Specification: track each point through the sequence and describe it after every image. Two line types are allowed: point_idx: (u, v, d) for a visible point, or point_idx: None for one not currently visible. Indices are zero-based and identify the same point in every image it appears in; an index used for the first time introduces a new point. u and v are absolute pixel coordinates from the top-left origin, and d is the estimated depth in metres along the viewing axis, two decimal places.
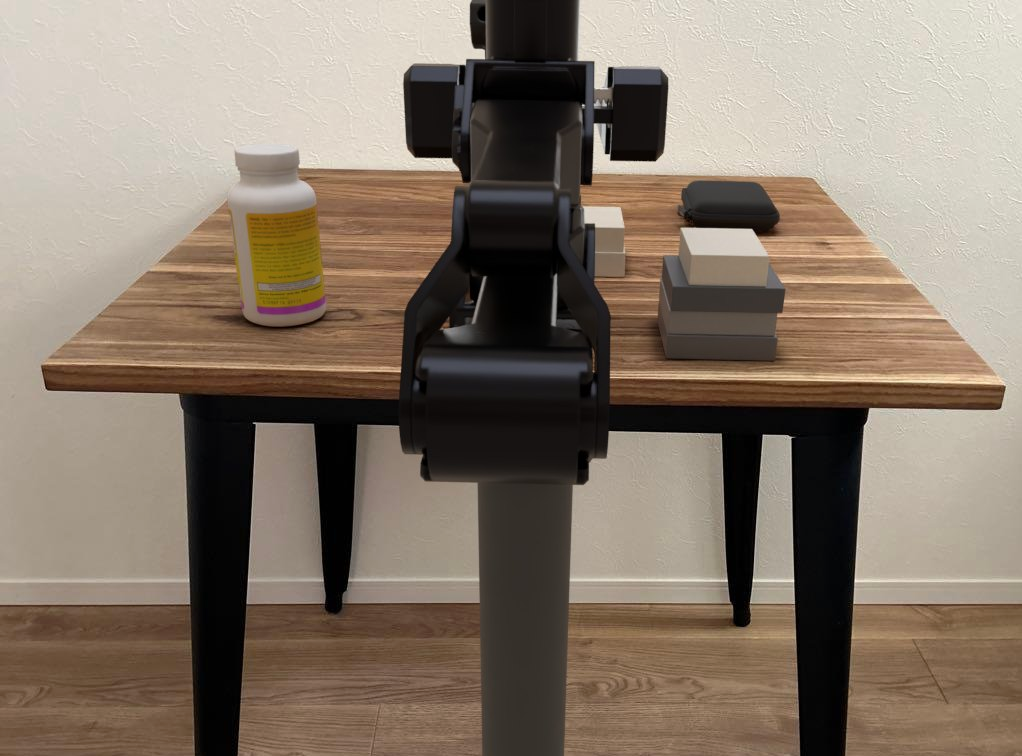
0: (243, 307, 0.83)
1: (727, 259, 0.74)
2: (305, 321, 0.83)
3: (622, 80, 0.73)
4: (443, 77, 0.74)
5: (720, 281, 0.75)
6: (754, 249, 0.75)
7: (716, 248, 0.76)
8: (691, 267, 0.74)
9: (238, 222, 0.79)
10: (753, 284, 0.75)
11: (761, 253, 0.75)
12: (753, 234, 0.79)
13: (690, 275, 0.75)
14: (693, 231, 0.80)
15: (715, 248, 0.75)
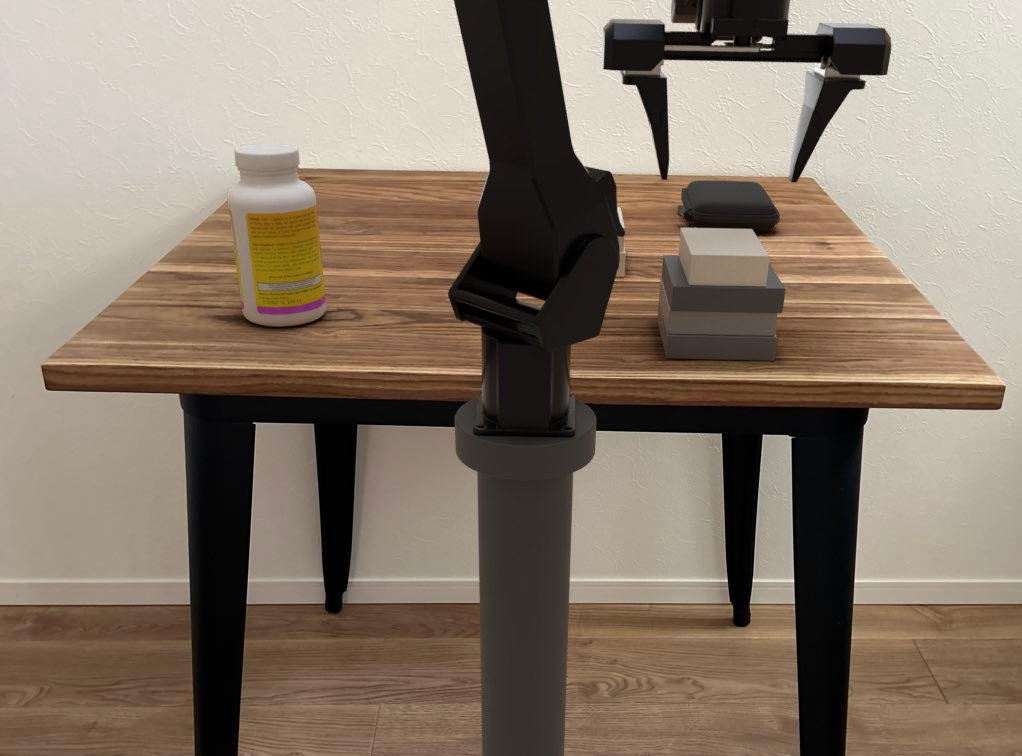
0: (243, 307, 0.83)
1: (727, 259, 0.74)
2: (305, 321, 0.83)
3: None
4: None
5: (720, 281, 0.75)
6: (754, 249, 0.75)
7: (716, 248, 0.76)
8: (691, 267, 0.74)
9: (238, 222, 0.79)
10: (753, 284, 0.75)
11: (761, 253, 0.75)
12: (753, 234, 0.79)
13: (690, 275, 0.75)
14: (693, 231, 0.80)
15: (715, 248, 0.75)
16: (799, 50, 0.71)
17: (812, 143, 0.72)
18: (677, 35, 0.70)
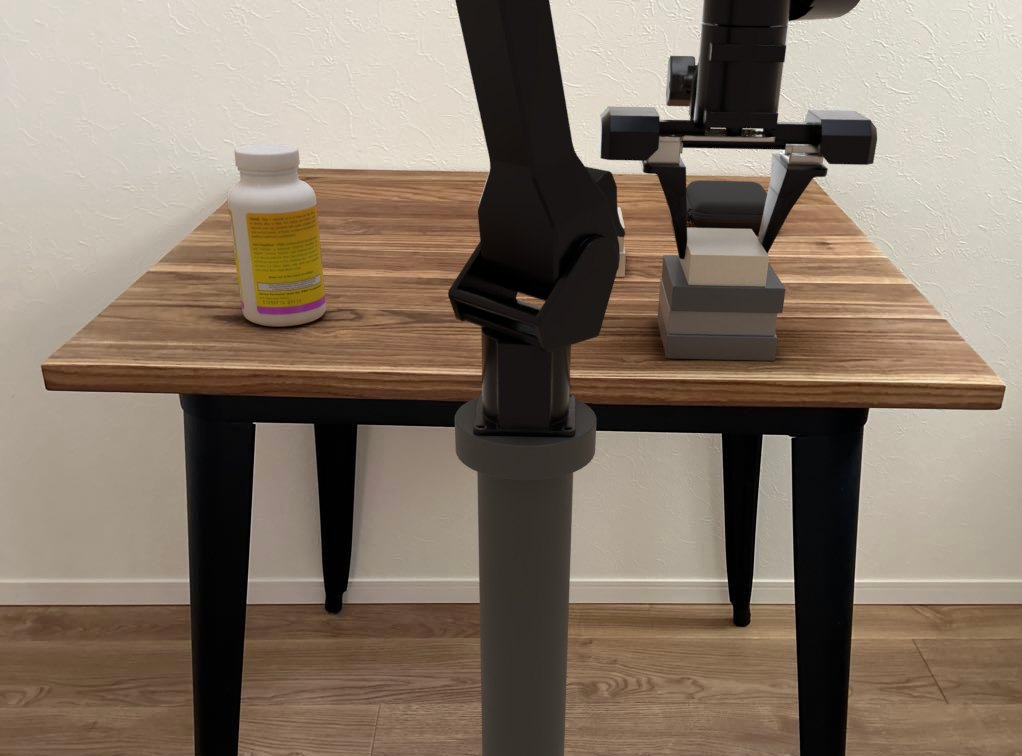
0: (243, 307, 0.83)
1: (727, 259, 0.74)
2: (305, 321, 0.83)
3: None
4: None
5: (719, 281, 0.75)
6: (753, 249, 0.75)
7: (715, 248, 0.76)
8: (690, 267, 0.74)
9: (238, 222, 0.79)
10: (752, 284, 0.75)
11: (760, 253, 0.75)
12: (752, 234, 0.79)
13: (689, 275, 0.75)
14: (692, 231, 0.80)
15: (714, 248, 0.75)
16: (789, 138, 0.73)
17: (777, 225, 0.75)
18: (671, 124, 0.73)
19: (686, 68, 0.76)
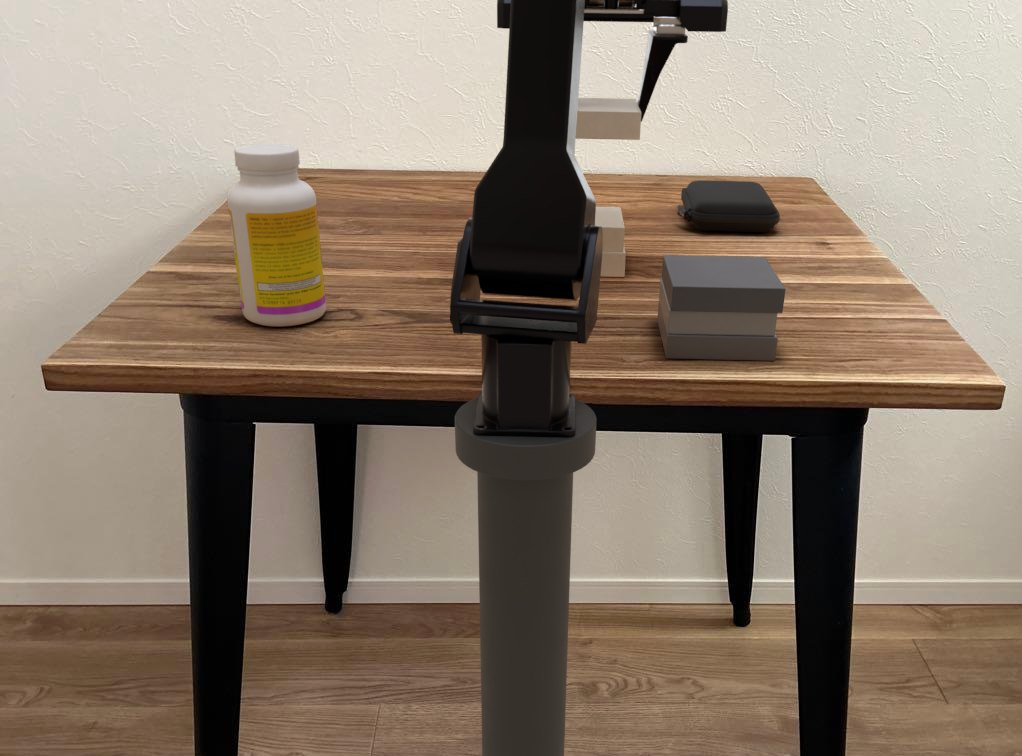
0: (243, 307, 0.83)
1: (606, 115, 0.88)
2: (305, 321, 0.83)
3: None
4: None
5: (601, 135, 0.89)
6: (630, 108, 0.89)
7: (598, 108, 0.89)
8: None
9: (238, 222, 0.79)
10: (629, 137, 0.89)
11: (635, 110, 0.88)
12: (635, 101, 0.93)
13: None
14: (584, 99, 0.94)
15: (597, 108, 0.89)
16: (657, 12, 0.87)
17: (650, 88, 0.89)
18: None
19: None
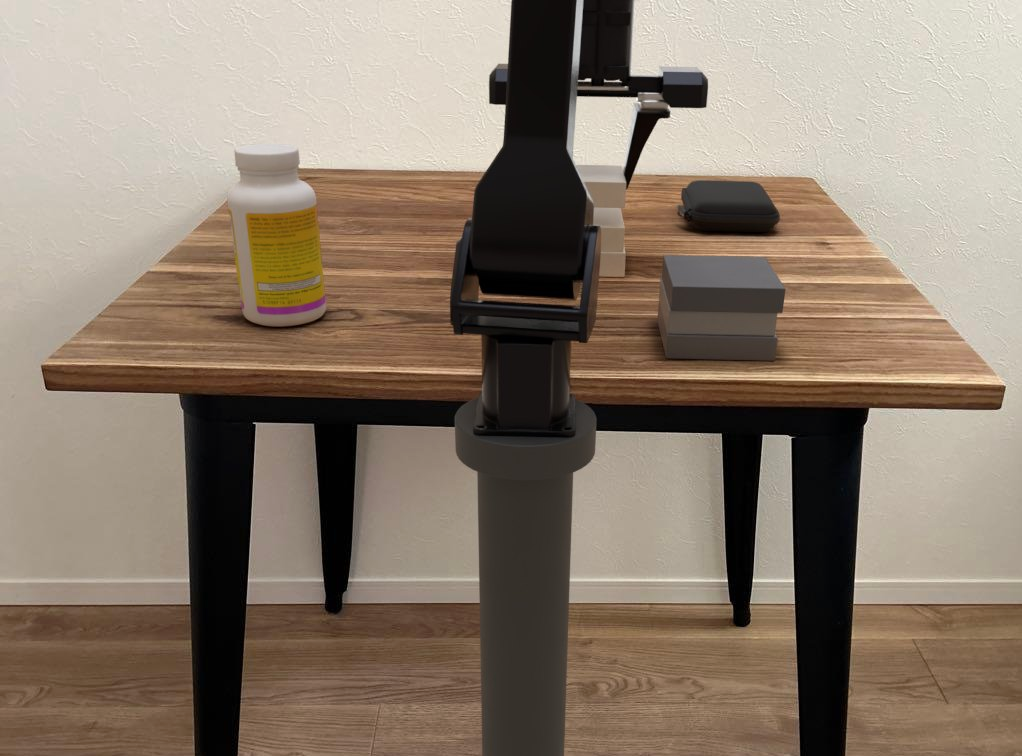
0: (243, 307, 0.83)
1: (593, 185, 0.92)
2: (305, 321, 0.83)
3: None
4: None
5: None
6: (616, 178, 0.94)
7: (585, 177, 0.94)
8: None
9: (238, 222, 0.79)
10: (614, 206, 0.93)
11: (620, 180, 0.93)
12: (621, 169, 0.98)
13: None
14: None
15: (585, 177, 0.94)
16: (641, 88, 0.92)
17: (635, 159, 0.94)
18: None
19: None
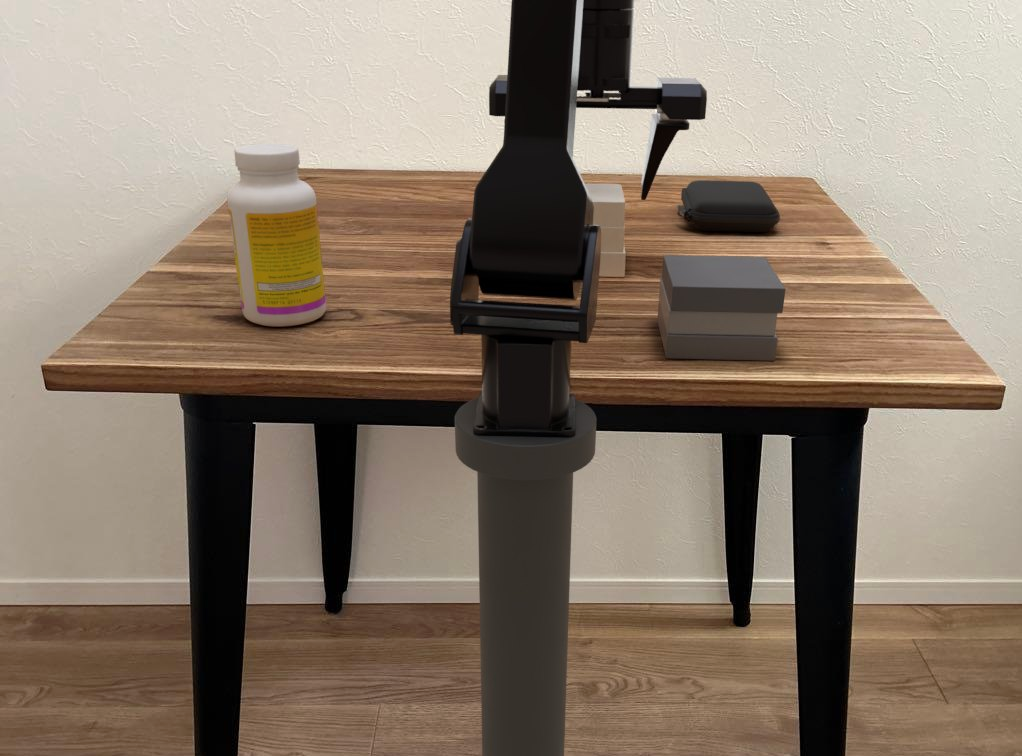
0: (243, 307, 0.83)
1: None
2: (305, 321, 0.83)
3: None
4: None
5: None
6: (615, 197, 0.95)
7: None
8: None
9: (238, 222, 0.79)
10: (613, 225, 0.94)
11: (619, 200, 0.94)
12: (620, 187, 0.98)
13: None
14: None
15: None
16: (640, 99, 0.92)
17: (653, 170, 0.94)
18: None
19: None
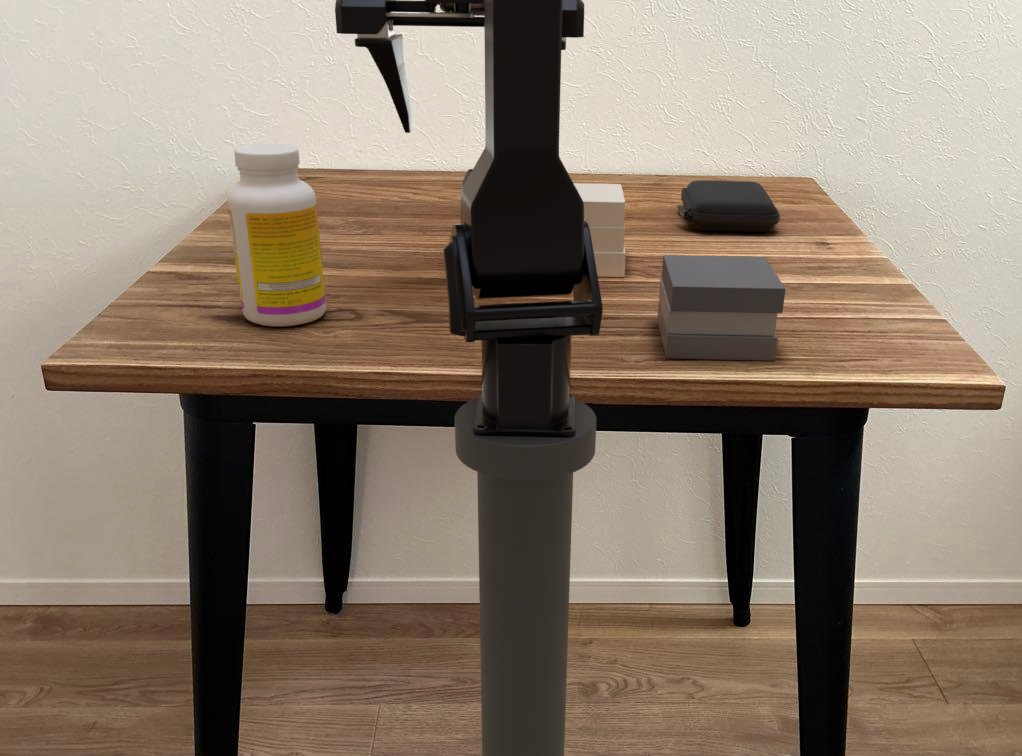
0: (243, 307, 0.83)
1: (592, 205, 0.93)
2: (305, 321, 0.83)
3: None
4: None
5: None
6: (615, 197, 0.95)
7: (585, 197, 0.95)
8: None
9: (238, 222, 0.79)
10: (613, 225, 0.94)
11: (619, 200, 0.94)
12: (620, 187, 0.98)
13: None
14: None
15: (584, 197, 0.95)
16: None
17: None
18: (403, 3, 0.80)
19: None
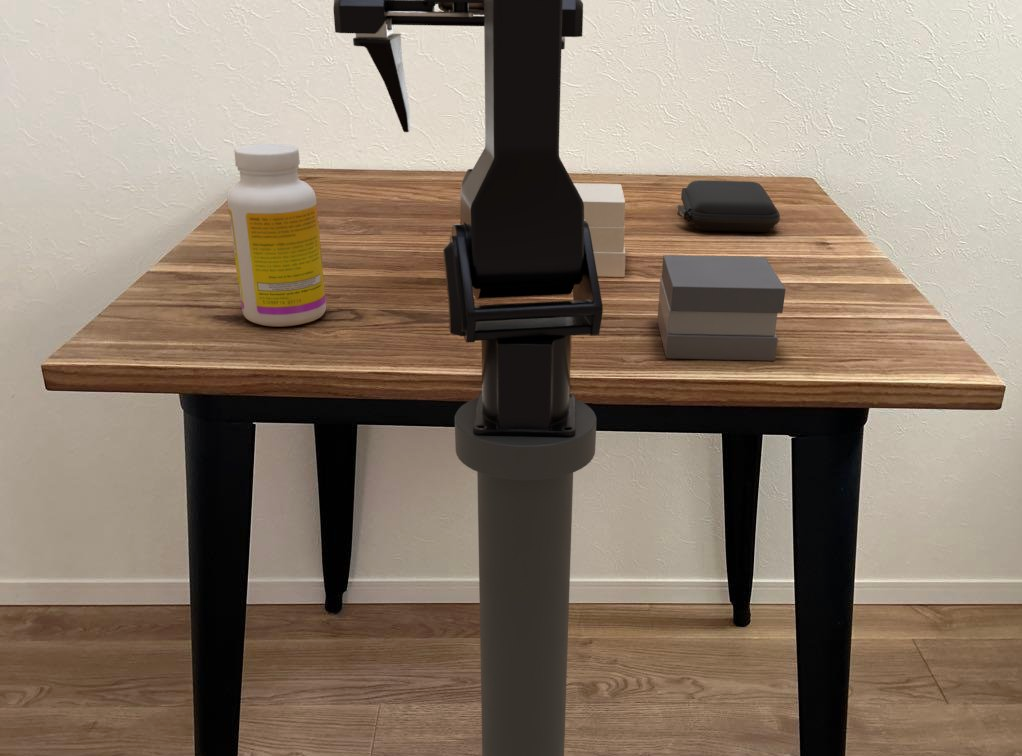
0: (243, 307, 0.83)
1: (592, 205, 0.93)
2: (305, 321, 0.83)
3: None
4: None
5: None
6: (615, 197, 0.95)
7: (585, 197, 0.95)
8: None
9: (238, 222, 0.79)
10: (613, 225, 0.94)
11: (619, 200, 0.94)
12: (620, 187, 0.98)
13: None
14: None
15: (584, 197, 0.95)
16: None
17: None
18: (402, 2, 0.80)
19: None
